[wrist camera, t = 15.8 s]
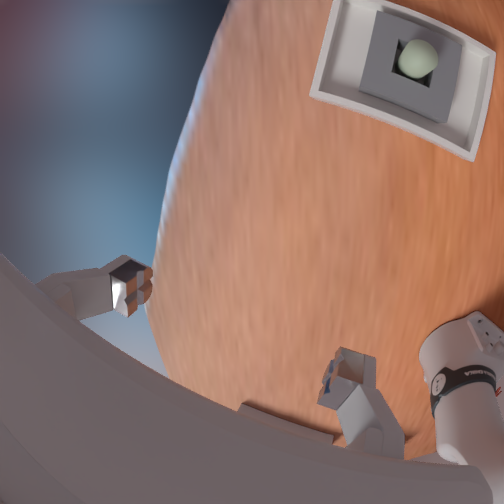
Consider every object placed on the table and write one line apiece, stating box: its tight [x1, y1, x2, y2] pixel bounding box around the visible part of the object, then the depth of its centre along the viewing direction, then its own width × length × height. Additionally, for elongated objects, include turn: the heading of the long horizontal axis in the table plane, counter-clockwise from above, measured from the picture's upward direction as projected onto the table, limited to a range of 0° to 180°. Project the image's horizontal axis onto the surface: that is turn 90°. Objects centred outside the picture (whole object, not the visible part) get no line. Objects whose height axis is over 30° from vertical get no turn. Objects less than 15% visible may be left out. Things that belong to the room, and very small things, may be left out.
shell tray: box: [237, 403, 334, 444], centre depth 69 cm, size 27×21×4 cm
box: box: [309, 0, 496, 162], centre depth 27 cm, size 24×18×6 cm
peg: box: [395, 39, 438, 82], centre depth 25 cm, size 4×4×9 cm
